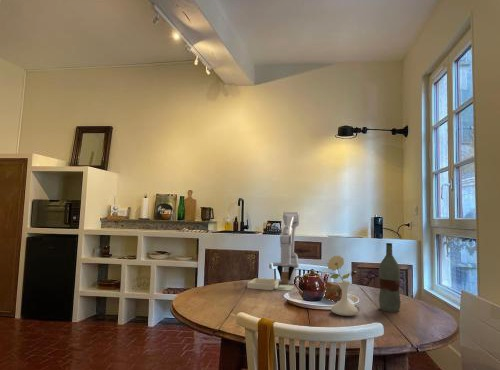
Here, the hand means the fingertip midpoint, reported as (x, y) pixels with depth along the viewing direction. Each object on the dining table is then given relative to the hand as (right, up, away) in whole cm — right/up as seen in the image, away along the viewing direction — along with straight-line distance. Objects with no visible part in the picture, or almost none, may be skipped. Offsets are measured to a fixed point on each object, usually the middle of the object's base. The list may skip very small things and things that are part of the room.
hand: (285, 279), depth 208 cm
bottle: (+43, -3, -42) cm, 61 cm away
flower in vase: (+20, -2, -51) cm, 55 cm away
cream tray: (-12, -5, +4) cm, 14 cm away
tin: (+20, -4, -26) cm, 33 cm away
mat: (0, -5, 0) cm, 5 cm away
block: (0, -2, 0) cm, 2 cm away
